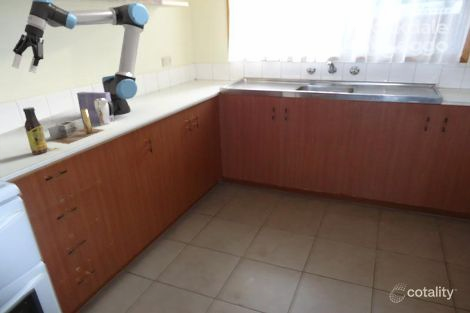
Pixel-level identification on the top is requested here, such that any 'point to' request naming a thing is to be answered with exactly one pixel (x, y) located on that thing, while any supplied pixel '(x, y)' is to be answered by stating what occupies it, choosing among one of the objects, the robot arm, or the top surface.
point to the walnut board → (75, 136)
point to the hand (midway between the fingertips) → (23, 70)
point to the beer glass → (102, 110)
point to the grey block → (69, 125)
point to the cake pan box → (88, 103)
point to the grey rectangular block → (59, 131)
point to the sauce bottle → (34, 132)
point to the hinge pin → (87, 121)
